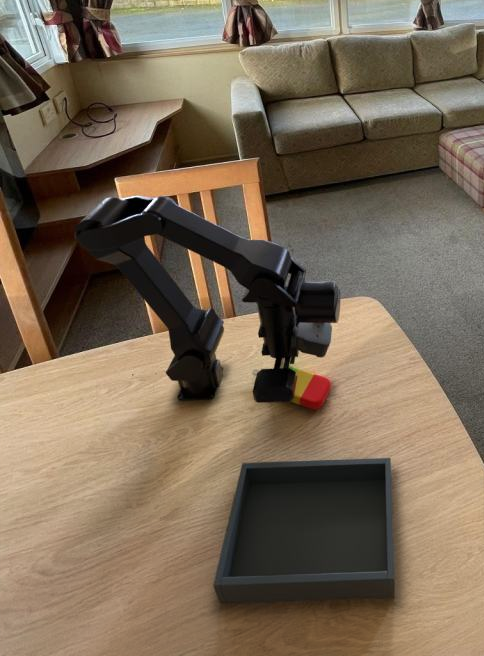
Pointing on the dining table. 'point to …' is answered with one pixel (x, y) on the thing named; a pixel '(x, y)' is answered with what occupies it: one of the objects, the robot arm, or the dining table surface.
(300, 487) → the tub
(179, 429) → the dining table surface
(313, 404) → the popsicle
